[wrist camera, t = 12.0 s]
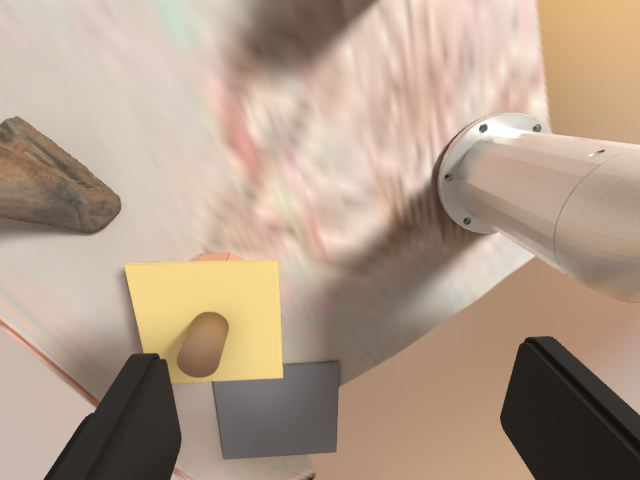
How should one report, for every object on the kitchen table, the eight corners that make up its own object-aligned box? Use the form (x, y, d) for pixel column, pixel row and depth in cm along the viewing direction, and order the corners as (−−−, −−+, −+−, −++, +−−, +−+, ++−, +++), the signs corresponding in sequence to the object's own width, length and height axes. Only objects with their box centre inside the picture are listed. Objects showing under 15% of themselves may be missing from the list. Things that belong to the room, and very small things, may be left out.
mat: (338, 361, 45) (339, 364, 44) (335, 448, 51) (336, 452, 50) (212, 367, 43) (211, 370, 43) (224, 456, 49) (223, 459, 49)
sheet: (278, 259, 33) (275, 288, 28) (283, 374, 38) (281, 416, 33) (126, 263, 32) (95, 294, 27) (152, 380, 37) (130, 425, 32)
